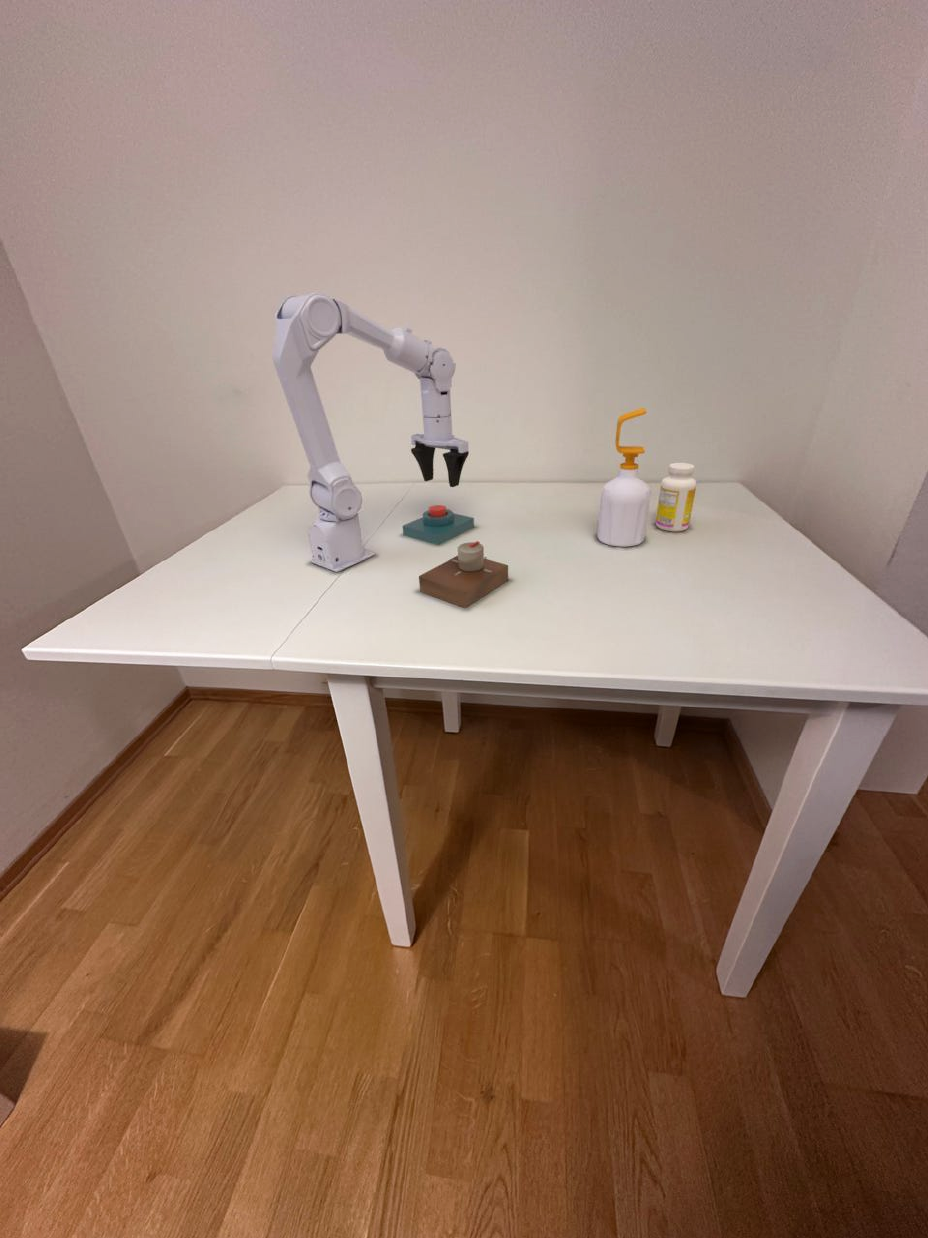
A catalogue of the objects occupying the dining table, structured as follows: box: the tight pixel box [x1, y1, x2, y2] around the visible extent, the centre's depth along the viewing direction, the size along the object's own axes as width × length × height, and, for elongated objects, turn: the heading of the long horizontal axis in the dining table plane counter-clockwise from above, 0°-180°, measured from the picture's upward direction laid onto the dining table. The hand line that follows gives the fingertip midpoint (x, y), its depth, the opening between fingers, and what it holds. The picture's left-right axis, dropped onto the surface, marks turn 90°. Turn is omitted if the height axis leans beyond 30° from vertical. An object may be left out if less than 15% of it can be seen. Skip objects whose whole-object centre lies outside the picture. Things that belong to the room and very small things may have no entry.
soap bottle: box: [596, 407, 652, 548], centre depth 97 cm, size 9×9×25 cm
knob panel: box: [418, 555, 509, 609], centre depth 88 cm, size 12×10×3 cm
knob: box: [457, 540, 485, 571], centre depth 87 cm, size 4×4×4 cm
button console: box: [402, 508, 475, 546], centre depth 110 cm, size 12×10×4 cm
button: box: [428, 504, 447, 517], centre depth 109 cm, size 4×4×2 cm
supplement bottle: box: [655, 462, 698, 532], centre depth 104 cm, size 7×7×13 cm
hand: (441, 482), depth 109 cm, fingers open, 7 cm apart
